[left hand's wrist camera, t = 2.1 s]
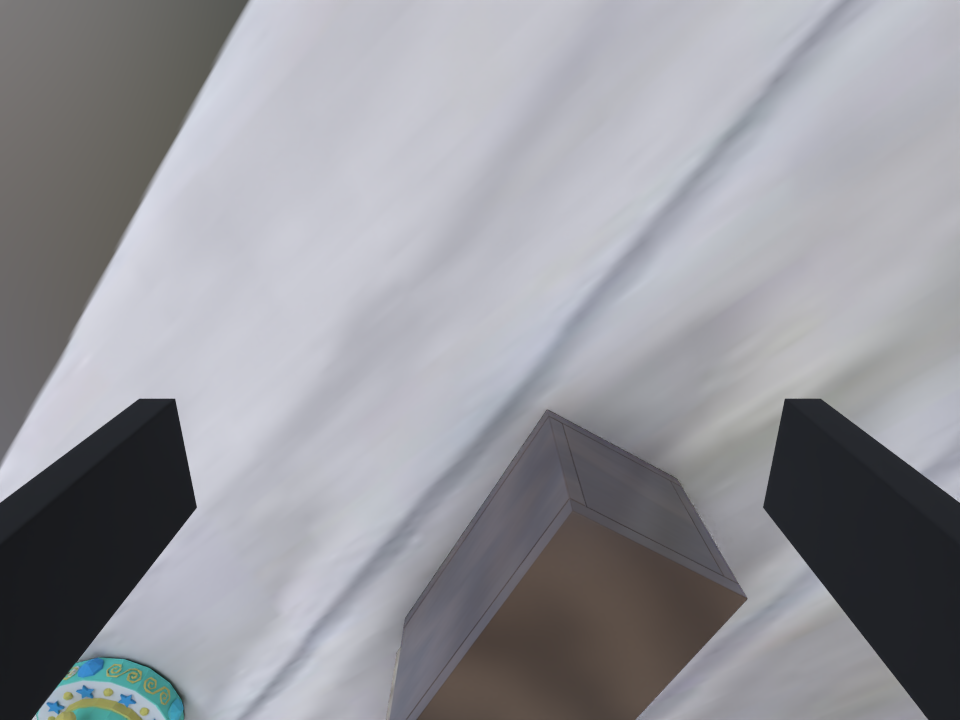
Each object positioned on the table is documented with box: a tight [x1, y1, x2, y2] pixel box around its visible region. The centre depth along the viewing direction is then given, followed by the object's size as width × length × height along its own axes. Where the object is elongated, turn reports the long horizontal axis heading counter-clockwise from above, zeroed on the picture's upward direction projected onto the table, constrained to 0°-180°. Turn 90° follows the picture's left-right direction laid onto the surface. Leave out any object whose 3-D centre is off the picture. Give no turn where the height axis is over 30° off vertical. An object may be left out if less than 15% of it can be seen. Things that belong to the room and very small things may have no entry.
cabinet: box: [389, 410, 747, 720], centre depth 35 cm, size 20×10×11 cm, turn 150°
